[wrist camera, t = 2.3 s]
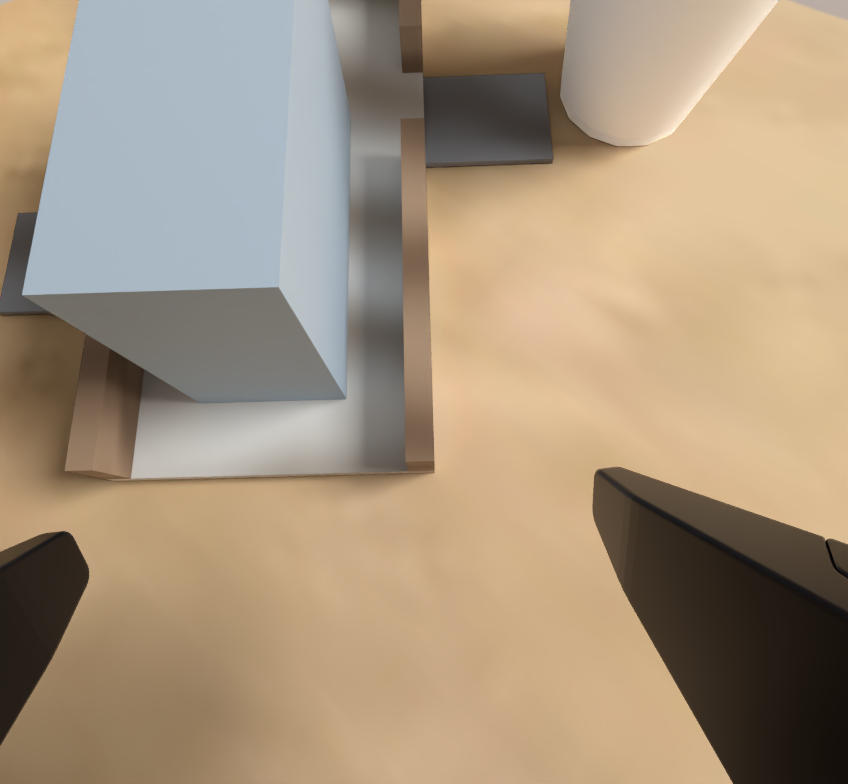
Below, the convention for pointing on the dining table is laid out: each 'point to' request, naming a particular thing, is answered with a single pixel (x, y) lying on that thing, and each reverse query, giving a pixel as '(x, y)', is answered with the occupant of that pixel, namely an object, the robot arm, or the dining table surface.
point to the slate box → (203, 196)
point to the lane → (367, 285)
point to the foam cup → (648, 61)
